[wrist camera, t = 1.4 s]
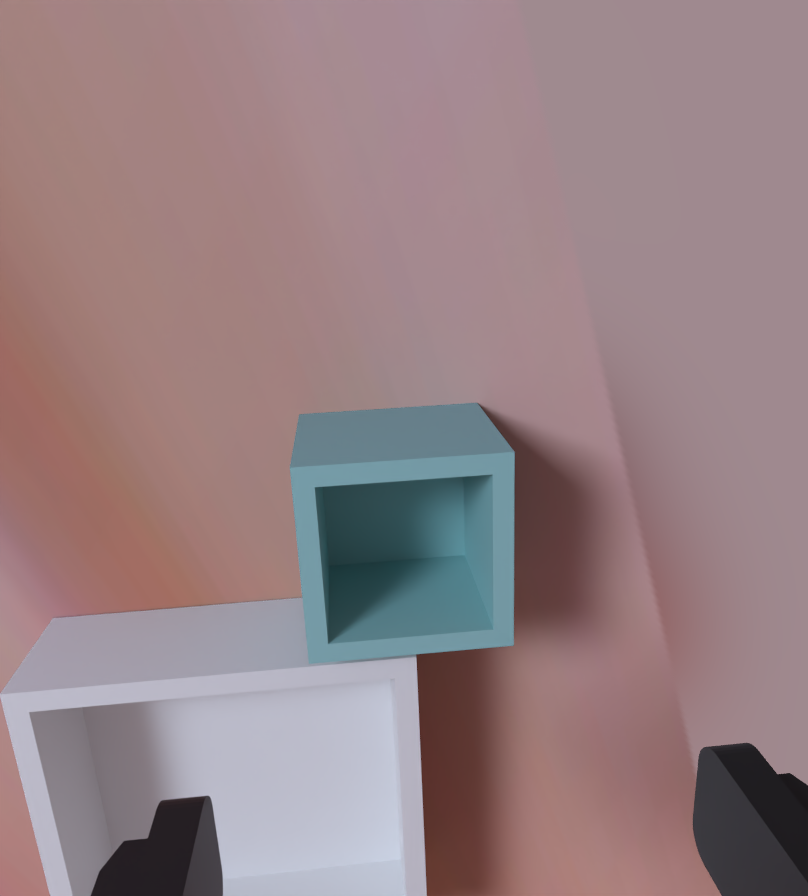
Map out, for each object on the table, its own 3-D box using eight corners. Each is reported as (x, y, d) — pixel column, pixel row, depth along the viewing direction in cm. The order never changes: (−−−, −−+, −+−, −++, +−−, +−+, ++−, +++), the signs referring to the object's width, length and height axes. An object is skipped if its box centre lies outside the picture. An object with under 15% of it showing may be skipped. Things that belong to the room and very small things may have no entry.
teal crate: (299, 413, 24) (289, 467, 19) (476, 402, 25) (514, 451, 20) (313, 574, 26) (308, 663, 21) (478, 561, 27) (513, 645, 21)
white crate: (52, 618, 26) (-1, 694, 22) (403, 589, 27) (416, 656, 22) (111, 888, 29) (75, 996, 25) (416, 854, 30) (429, 953, 26)
